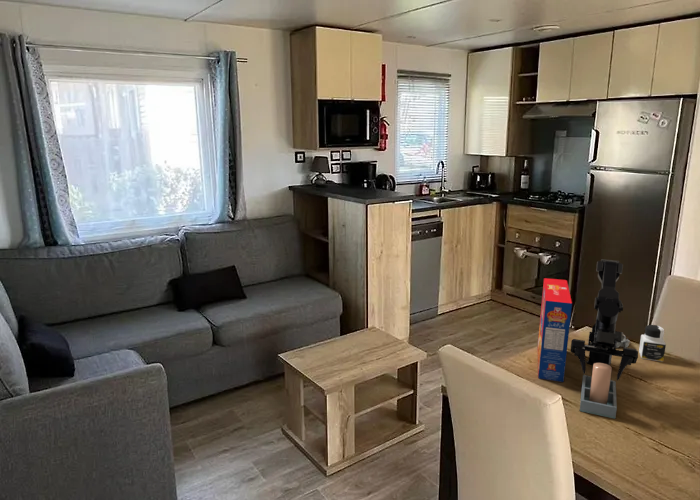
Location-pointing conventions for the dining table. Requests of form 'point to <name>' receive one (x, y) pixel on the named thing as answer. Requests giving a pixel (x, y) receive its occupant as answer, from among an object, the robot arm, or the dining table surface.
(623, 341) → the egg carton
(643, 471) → the dining table surface
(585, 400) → the divided tray
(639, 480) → the dining table surface
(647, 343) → the medicine bottle
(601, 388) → the peach round cylinder
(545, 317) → the cereal box
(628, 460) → the dining table surface
